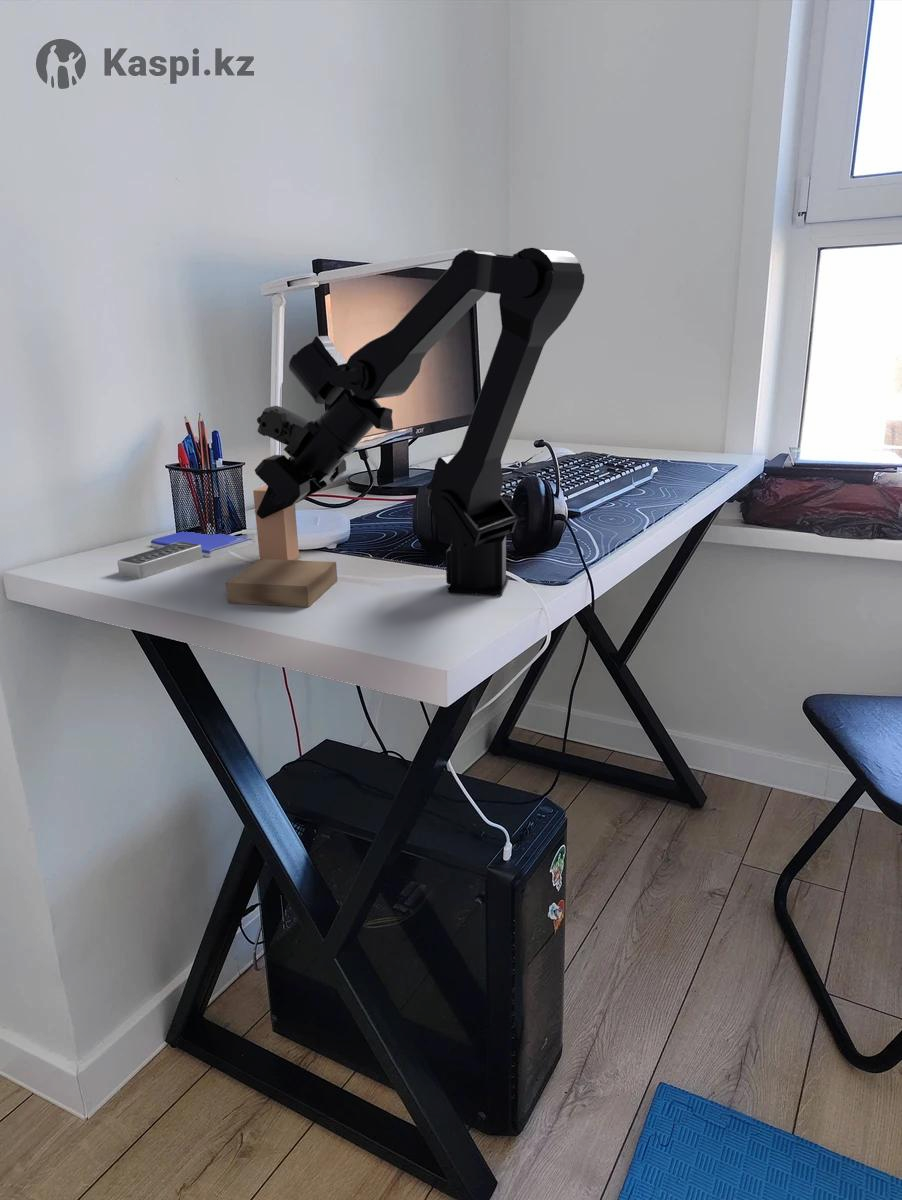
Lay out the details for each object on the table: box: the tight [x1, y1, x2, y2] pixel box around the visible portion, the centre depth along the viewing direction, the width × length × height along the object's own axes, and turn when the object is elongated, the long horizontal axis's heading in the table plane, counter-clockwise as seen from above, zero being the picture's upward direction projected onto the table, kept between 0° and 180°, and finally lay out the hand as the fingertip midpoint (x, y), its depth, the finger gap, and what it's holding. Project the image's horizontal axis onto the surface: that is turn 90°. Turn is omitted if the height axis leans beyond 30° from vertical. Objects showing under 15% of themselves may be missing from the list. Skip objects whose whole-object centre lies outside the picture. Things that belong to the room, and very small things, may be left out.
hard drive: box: [150, 530, 253, 558], centre depth 125 cm, size 2×8×12 cm
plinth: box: [225, 558, 338, 608], centre depth 103 cm, size 10×10×2 cm
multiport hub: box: [117, 542, 203, 580], centre depth 115 cm, size 4×11×2 cm, turn 150°
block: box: [252, 484, 300, 560], centre depth 115 cm, size 4×4×10 cm
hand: (265, 512), depth 115 cm, fingers closed on block, 4 cm apart
